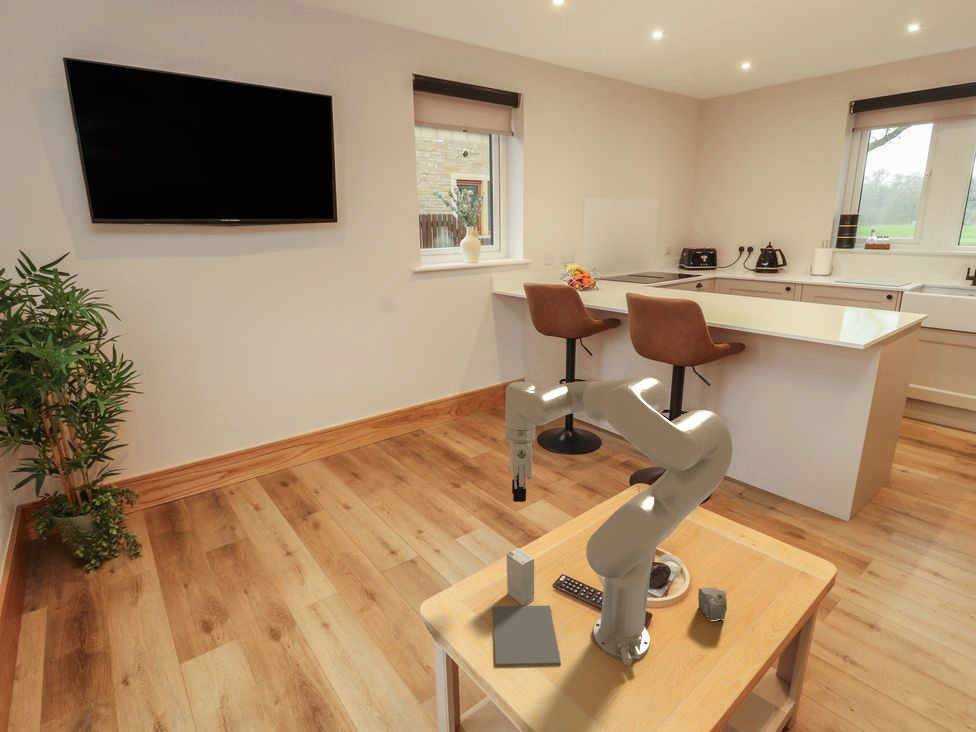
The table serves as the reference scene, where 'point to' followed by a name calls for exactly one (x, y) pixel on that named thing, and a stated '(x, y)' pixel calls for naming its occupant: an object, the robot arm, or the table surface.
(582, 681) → the table surface
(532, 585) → the skincare box
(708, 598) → the mineral specimen
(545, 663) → the mat
